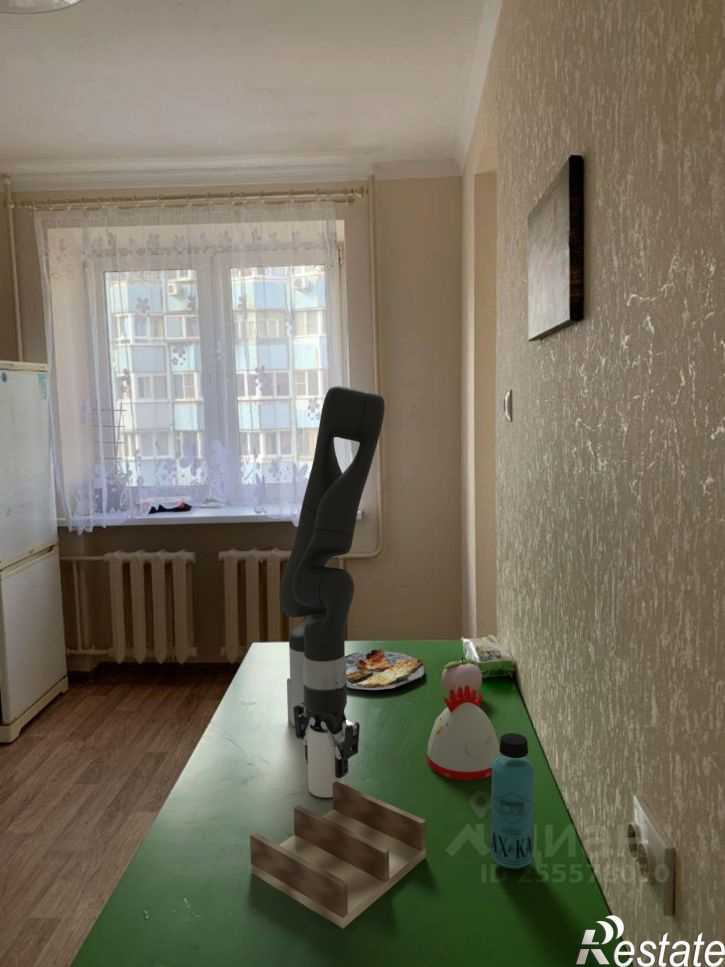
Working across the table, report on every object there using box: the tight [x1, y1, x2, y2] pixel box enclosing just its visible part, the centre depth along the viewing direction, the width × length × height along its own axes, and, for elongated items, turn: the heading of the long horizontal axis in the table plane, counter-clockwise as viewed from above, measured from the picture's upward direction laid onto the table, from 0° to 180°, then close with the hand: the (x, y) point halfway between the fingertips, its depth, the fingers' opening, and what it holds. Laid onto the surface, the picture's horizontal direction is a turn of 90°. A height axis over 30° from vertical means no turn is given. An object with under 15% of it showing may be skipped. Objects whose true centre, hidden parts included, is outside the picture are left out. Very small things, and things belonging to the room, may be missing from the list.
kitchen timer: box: [426, 685, 501, 781], centre depth 138 cm, size 14×14×15 cm
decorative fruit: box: [441, 656, 483, 697], centre depth 166 cm, size 9×8×10 cm
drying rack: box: [249, 781, 427, 929], centre depth 108 cm, size 18×19×6 cm
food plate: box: [345, 648, 426, 692], centre depth 182 cm, size 25×23×4 cm
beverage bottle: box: [488, 732, 536, 869], centre depth 107 cm, size 6×7×20 cm
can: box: [307, 725, 346, 799], centre depth 128 cm, size 6×6×12 cm
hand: (326, 769), depth 129 cm, fingers closed on can, 6 cm apart
